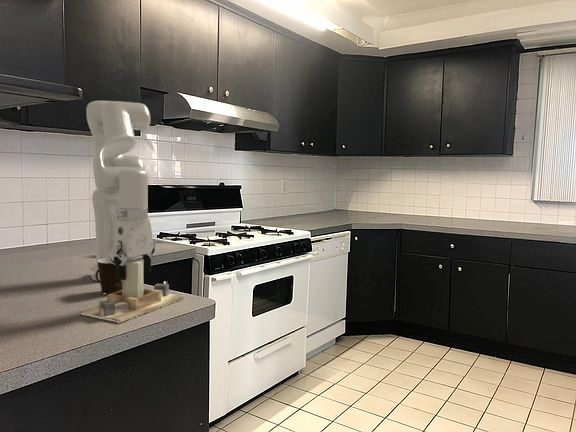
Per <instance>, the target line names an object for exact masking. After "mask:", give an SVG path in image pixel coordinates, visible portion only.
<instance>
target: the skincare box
mask: <svg viewBox="0 0 576 432" xmlns="http://www.w3.org/2000/svg"><path fill="white" fill-rule="evenodd" d="M143 264H144V262H143V259H141V257H139V258H138V257H133V258H127V260H126V262H125V264H124V265H126V280H123V296H126V297H132V298H137V297H140V296H143V295H144V288H145V287H144V282H145V281H144V273H145V272H144V268H143Z"/></svg>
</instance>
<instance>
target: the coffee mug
mask: <svg viewBox="0 0 576 432" xmlns="http://www.w3.org/2000/svg"><path fill="white" fill-rule="evenodd" d="M120 260H122V258H121V259H120ZM97 263H98V270H97V271H96V279H97V281H96V282H98V283H99V284H100V288H101V294H102V293H106V294H111V293H114V292H118V291H121V290H123V280H119V279H116V273H115V265H114V264H113V262H112V261H111V259H110V258H105V259H100V260H98V261H97ZM98 272H99V276H100V280H99V279H98Z"/></svg>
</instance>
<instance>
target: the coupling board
mask: <svg viewBox="0 0 576 432" xmlns="http://www.w3.org/2000/svg"><path fill="white" fill-rule="evenodd" d="M106 296H107V297H106V298H107V299H106V300H102V301H99V304H98V305H95V306H93V307H89V308H87V309H82V310H80V311H79V313H80V312H81V313H85V314H90V315H95V316H98V317H103V318H107V319H112V320H115V321H119V322H121V321H124V320H126V319H129V318H132V317H135V316H137V315H140V314H142V313H145V312H148V311H151V310H154V309H157V308H160V307H162V308H164V307H163V306H165V305H167V306H169V305H168V304H170V305H172V304H171V303H173V302H175V303H177V302H176V301H178V302H180V301H183V300H184V295H179V294H172V293H170V284H169V283H156V284H154V285H153V288H151V289H150V288H146V287H144V295H143V296H140V297H137V298H132V297H126V296H123V290H121V291H118V292H114V293H111V294H108V295H106ZM179 300H180V301H179ZM173 304H174V303H173ZM165 307H166V306H165ZM160 309H161V308H160ZM157 310H158V309H157Z"/></svg>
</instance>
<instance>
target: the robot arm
mask: <svg viewBox="0 0 576 432" xmlns="http://www.w3.org/2000/svg"><path fill="white" fill-rule="evenodd" d="M150 113H151V112H150V111H149V108H148V107H147V106H146V104H144V103H141V102H132V101H120V100H118V101H117V100H115V101H114V100H94V101H91V102H89V103H88V104H87V106H86V121H87V124H88V127H89V129H90V132H91V135H92V138H93V141H94V156H93V161H92V171H93V177H94V183H95V188H96V189H95V190H94V191H93V192H92V196H91V200H92V201H91V202H92V207H93V214H94V219H95V220H94V221H95V260H96V263H94V264H92V266H89V270H91V271H94V273H93V274H92V275H91V279H92V281H95V282H98V281H97V279H96V271H97V270H98V263H97V261H98V260H100V259H105V258H110V259H111V261H112V262H113V264H114V265H115V273H116V279H119V280H126V265H124V264H125V262H126V260H127V259H128V258H138V257H140V259H143V262H144V264H143V268H144V273H148V274H149V273H152V259H153V256H154V253H155V252H156V250H155V249H156V247H157V241H156V240H154V239H153V230H152V224H151V219H150V217H149V215H148V214H149V206H148V205H149V204H148V202H149V201H148V200H149V199H148V197H149V196H148V195H149V193H148V192H149V189H148V187H149V175H148V173H147V170H145V163H144V161H143V159H142V158H141V157H140V156H138V155H129V154H128V155H127V154H126V153H128V152H130V151H132V150H133V149H134V147H135V145H136V141H137V140H136V138H135V137H136V136H135V131H146V130H148V129H149V128H150V124H151V114H150ZM134 130H135V131H134ZM125 154H126V155H125ZM121 258H122V260H120V259H121ZM98 279H99V280H100V276H99V272H98Z"/></svg>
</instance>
